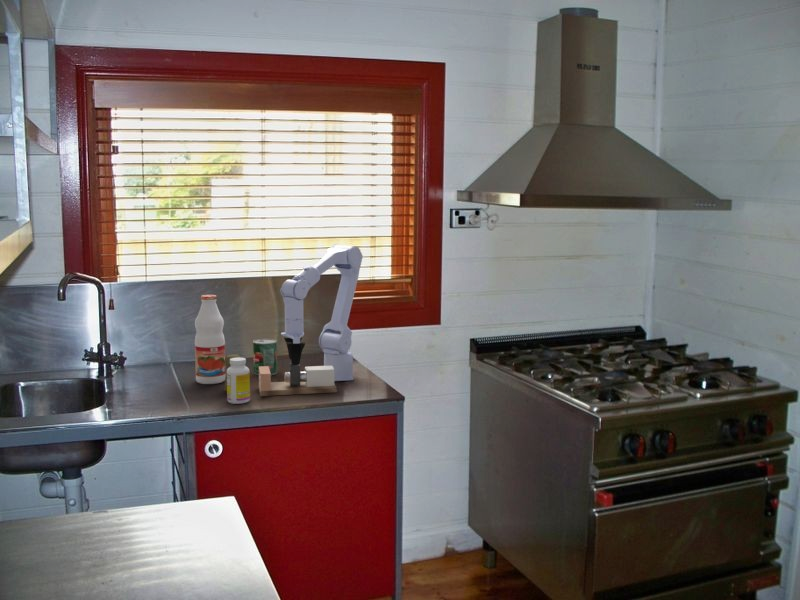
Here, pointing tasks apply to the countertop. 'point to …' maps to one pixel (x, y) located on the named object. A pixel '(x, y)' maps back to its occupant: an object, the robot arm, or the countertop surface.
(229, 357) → the olive tan rounded piece
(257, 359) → the canned tomato
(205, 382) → the fruit juice
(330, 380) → the sleeve
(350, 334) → the robot arm
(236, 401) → the supplement bottle
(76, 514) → the countertop surface
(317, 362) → the countertop surface
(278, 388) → the tan board
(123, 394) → the countertop surface
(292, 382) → the tube
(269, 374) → the socket block
